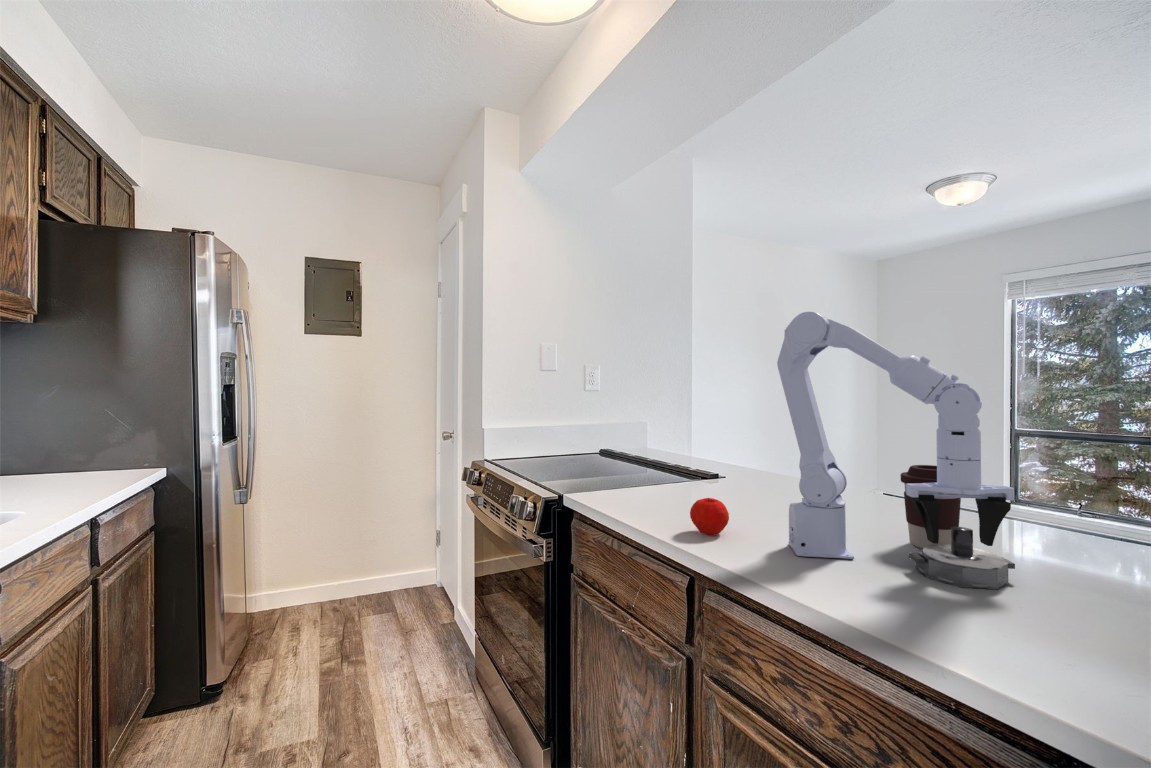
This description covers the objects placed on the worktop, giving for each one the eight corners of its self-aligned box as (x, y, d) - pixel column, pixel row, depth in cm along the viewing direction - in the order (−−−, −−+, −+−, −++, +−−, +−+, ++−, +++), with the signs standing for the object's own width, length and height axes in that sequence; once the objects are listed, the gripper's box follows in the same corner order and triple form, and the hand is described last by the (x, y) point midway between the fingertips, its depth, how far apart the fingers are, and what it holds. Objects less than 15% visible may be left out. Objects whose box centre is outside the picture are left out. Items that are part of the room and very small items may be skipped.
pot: (929, 585, 78) (929, 566, 78) (898, 561, 89) (898, 544, 89) (1032, 591, 75) (1032, 571, 75) (987, 565, 86) (987, 548, 86)
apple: (691, 527, 112) (690, 493, 112) (728, 529, 110) (728, 495, 110) (689, 537, 105) (688, 501, 105) (729, 540, 102) (729, 503, 102)
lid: (939, 571, 78) (938, 536, 78) (912, 550, 88) (912, 519, 88) (1020, 577, 75) (1019, 540, 75) (983, 554, 85) (982, 522, 85)
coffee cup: (976, 556, 92) (975, 472, 92) (915, 553, 94) (913, 470, 94) (948, 539, 101) (947, 463, 101) (893, 537, 103) (891, 463, 103)
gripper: (919, 461, 80) (920, 548, 80) (1026, 463, 77) (1028, 553, 77) (900, 455, 87) (901, 535, 87) (998, 456, 84) (999, 539, 84)
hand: (959, 543), depth 82 cm, fingers open, 7 cm apart
